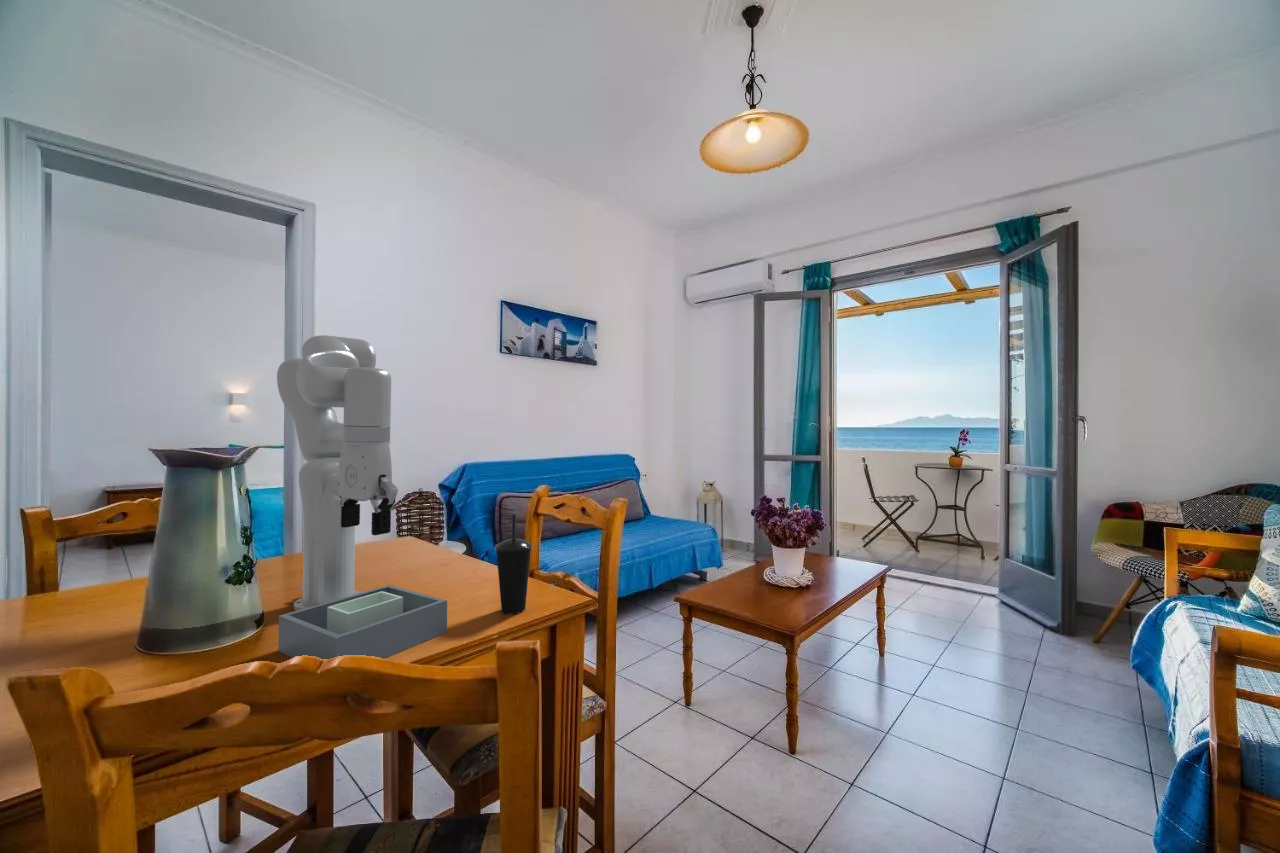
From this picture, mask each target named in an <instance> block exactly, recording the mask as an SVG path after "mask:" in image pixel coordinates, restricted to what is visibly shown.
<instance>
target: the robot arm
mask: <svg viewBox="0 0 1280 853" xmlns="http://www.w3.org/2000/svg"><path fill="white" fill-rule="evenodd" d="M301 356H302V357H298V358H291V359H287V360H284V361H283V362H281V363H280V365H279V366H278V369H277V372H276V383H277V389H278V393H279V396H280V399H281V401H282V403H283V405H284V407H285V408H286V410H287V411H288V413H289V414H290V416H291V417H292V419H293V422H294V426H295V431H296V437H297V440H298V445H299V448H300V452H301V455H302V457H303V458H304V459H305V461H306V463H305V464H303V465H302V467H300V470H299V472H298V486H299V491H300V493H299V494H300V496H301V497H300V498H301V504H302V519H303V520H302V521H303V522H302V524H303V529H302V532H303V535H302V536H303V538H302V540H303V542H302V543H303V545H302V546H303V547H302V548H303V550H302V553H303V555H302V583H301V584H300V588H301V589H302V597H300V598H298V599H297V600H295V602H294V603H293V610H294V611H298V610H301V609H305V608H308V607H312V606H316V605H319V604H323V603H326V602H330V601H333V600H337V599H341V598H344V597H348V596H351V595H355V594H358V593H362V591H360V590H357V589H355V567H356V566H355V560H356V559H355V553H356V551H355V550H356V547H355V545H356V541H355V540H356V538H355V537H356V527H357V526H360V523H361V504H360V503H359V502H367V501H368V502H369V501H370V504H371V506H372V508H373V511H374V512H373V511H372V512H371V535H372V536H379V535H384V534H389V533H391V525H392V521H391V520H392V518H391V517H392V511H393V510H394V505H395V503H396V498H397V495H398V493H399V489H398V488H397V486H396V485H395V484H394V483H393V469H392V468H393V467H392V454H391V446H390V444H391V420H392V419H391V416H392V415H391V414H392V412H391V411H392V409H391V408H392V406H391V405H392V375H391V374H390V372H389V371H388V370H385V369H383V368H379V367H378V368H376V364H377V354H376V351H375V348H374V347H373V346H372V344H370V342H368V341H367V340H364V339H360V338H354V337H353V338H351V337H342V336H335V335H326V334H325V335H323V334H322V335H315V336H312V337H310V338H308V339H306V341H305V342H304V343H303V345H302V347H301ZM334 408H343V422H339V421H338V418H337V413H336V411H335V409H334ZM380 501H381V502H380ZM379 502H380V503H379Z"/></svg>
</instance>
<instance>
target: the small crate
mask: <svg viewBox="0 0 1280 853" xmlns="http://www.w3.org/2000/svg"><path fill="white" fill-rule="evenodd" d="M402 613H403V597H401V596H398V595H394V594H391V593H387V592H383V591H381V592H378V593H374V594H371V595H367V596H364V597H360V598H357V599H353V600H350V601H346V602H343V603H339V604H336V605H333V606H329V607H327V630H328V631H331V632H334V633H336V634H339V635H340V634H343V633H346V632H349V631H352V630H355V629H358V628H361V627H364V626H367V625H370V624H373V623H375V622H378V621H381V620H384V619H387V618H390V617H393V616H396V615H399V614H402Z"/></svg>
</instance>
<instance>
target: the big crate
mask: <svg viewBox="0 0 1280 853" xmlns="http://www.w3.org/2000/svg"><path fill="white" fill-rule="evenodd" d="M381 591H383V592H387V593H391V594H394V595H398V596H401V597H403V613H402V614H399V615H396V616H393V617H390V618H387V619H384V620H381V621H378V622H375V623H373V624H370V625H367V626H364V627H361V628H358V629H355V630H352V631H349V632H346V633H343V634H340V635H339V634H336V633H334V632H331V631H328V630H327V607H329V606H333V605H336V604H339V603H343V602H346V601H350V600H353V599H357V598H360V597H364V596H367V595H371V594H374V593H378V592H381ZM361 592H362V591H361ZM446 633H448V600H447V599H443V598H440V597H436V596H432V595H428V594H425V593H420V592H418V591H413V590H410V589H406V588H402V587H399V586H396V585H393V584H392V585H391V584H388V585H385V586H380V587H376V588H374V589H370V590H366V591H363V592H362V593H358V594H355V595H351V596H348V597H344V598H341V599H337V600H333V601H330V602H326V603H323V604H319V605H316V606H312V607H308V608H305V609H301V610H298V611H296V610H294V611H290V612H288V613H284V614H280V615H278V642H277V643H278V644H277V646H278V649H277V650H278V652H280V653H281V654H284V655H286V656H288V657H291V658H292V657H295V656H302V655H308V656H316V657H319V658H321V659H330V658H334V657H337V656H343V655H366V656H375V657H380V658H384V659H385V658H389V657H390V656H391V657H392V656H393V655H396V654H397V653H401V652H403V651H405V650H407V649H410V648H412V647H415V646H417V645H420V644H423V643H425V642H427V641H430V640H432V639H436V638H437V637H439V636H442V635H445V634H446Z"/></svg>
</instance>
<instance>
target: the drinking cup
mask: <svg viewBox="0 0 1280 853" xmlns="http://www.w3.org/2000/svg"><path fill="white" fill-rule="evenodd" d="M511 516H512V517H511V518H512V519H511V520H512V521H511V537H512V538H509V539H506V540H502V541H501V542H499V543H496V544H495V545H494V549H495V551H496V562H497V574H498V586H499V595H500V605H501V612H502V613H503V612H504V613H503V614H506V613H516V614H518V613H517V612H520V613H522V612H521V611H523V610H524V611H525V610H526V605H527V604H526V603H527V594H528V583H529V572H530V563H531V562H530V561H531V552H532V551H531V550H532V548H533V543H532V542H529V541H528V540H525V539H521V538H516V519H517V518H516V516H517V515H516V514H511ZM524 611H523V612H524Z"/></svg>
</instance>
